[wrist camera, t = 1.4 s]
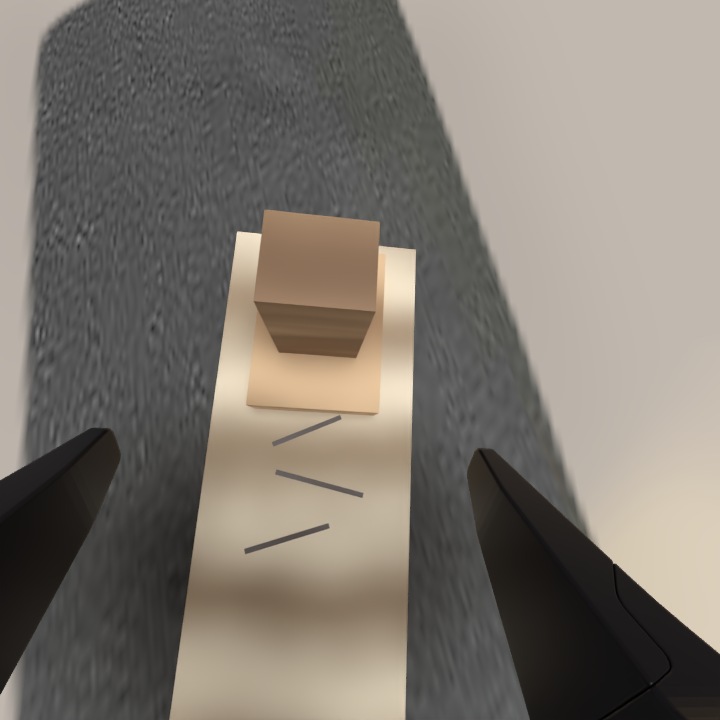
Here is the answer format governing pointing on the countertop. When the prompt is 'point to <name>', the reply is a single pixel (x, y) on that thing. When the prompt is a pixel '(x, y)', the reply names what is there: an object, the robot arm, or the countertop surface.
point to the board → (301, 537)
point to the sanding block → (318, 315)
